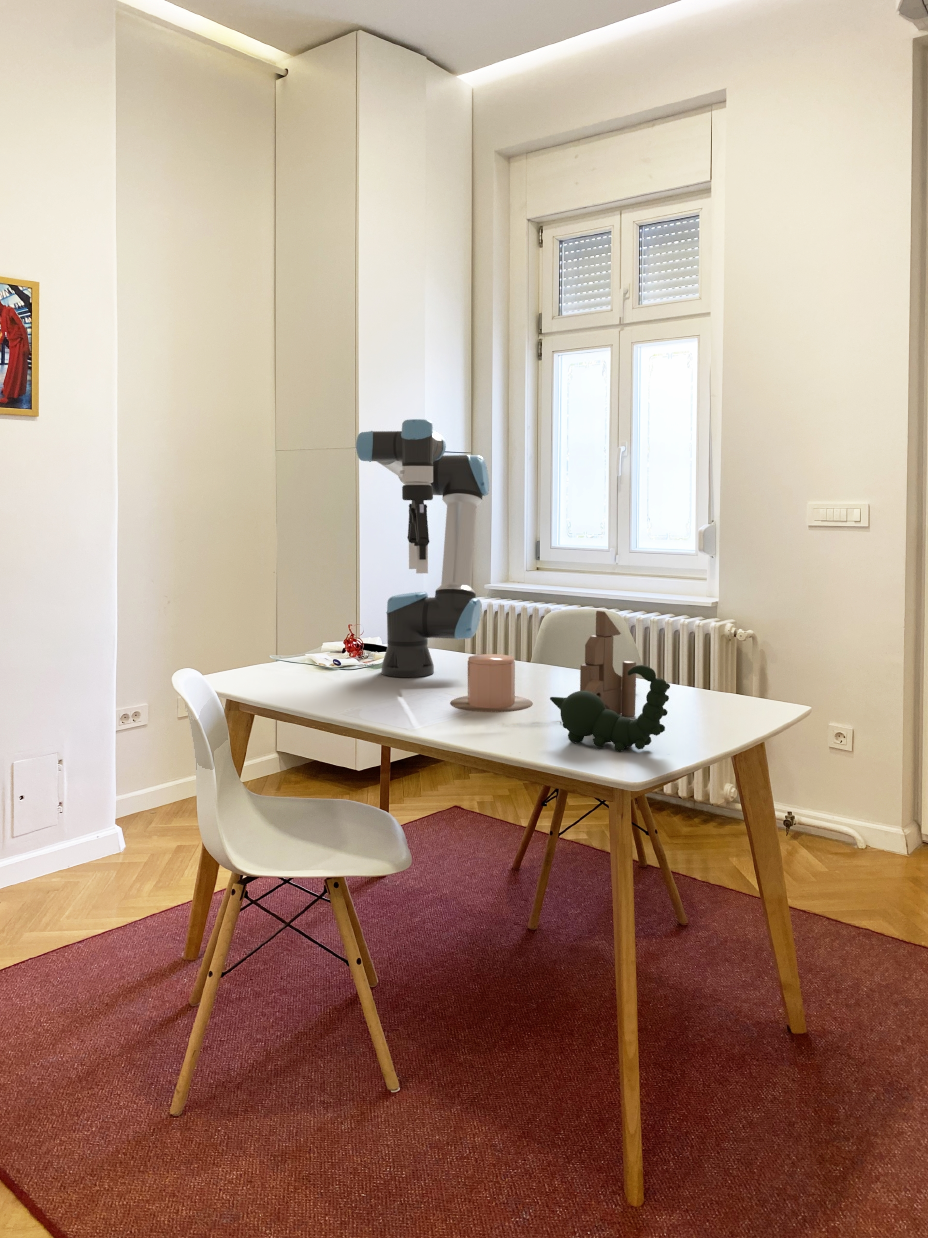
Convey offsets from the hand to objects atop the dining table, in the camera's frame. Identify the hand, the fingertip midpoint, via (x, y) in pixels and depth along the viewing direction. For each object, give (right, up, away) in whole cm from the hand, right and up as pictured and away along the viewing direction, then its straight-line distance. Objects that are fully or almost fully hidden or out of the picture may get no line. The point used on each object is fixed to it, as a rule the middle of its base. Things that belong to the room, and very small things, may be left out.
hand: (418, 571), depth 237 cm
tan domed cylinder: (+18, -32, -5) cm, 37 cm away
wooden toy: (+44, -35, -14) cm, 58 cm away
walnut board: (+18, -34, -5) cm, 38 cm away
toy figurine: (+41, -38, -39) cm, 68 cm away
